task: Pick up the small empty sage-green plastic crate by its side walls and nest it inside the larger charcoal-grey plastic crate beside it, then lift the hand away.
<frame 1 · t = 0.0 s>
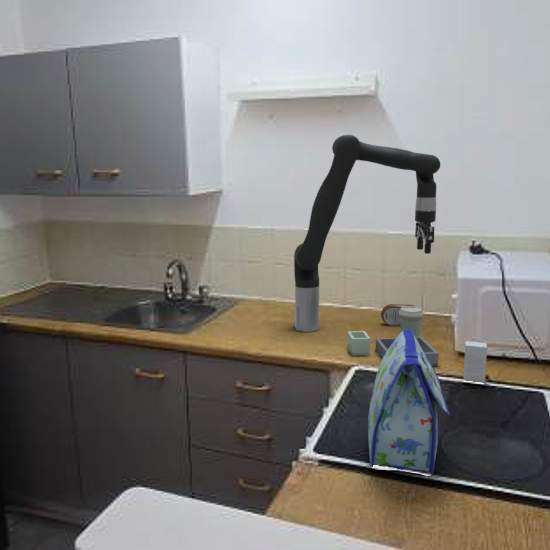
hand: (423, 251, 213), 29 cm above the worktop, tool pointing down, fingers open, 8 cm apart
coffee cup: (409, 341, 201), on the worktop
large crate: (405, 358, 184), on the worktop
tin: (400, 325, 218), on the worktop
lunch bag: (403, 450, 128), on the worktop
small crate: (358, 351, 190), on the worktop
skincare box: (473, 383, 164), on the worktop
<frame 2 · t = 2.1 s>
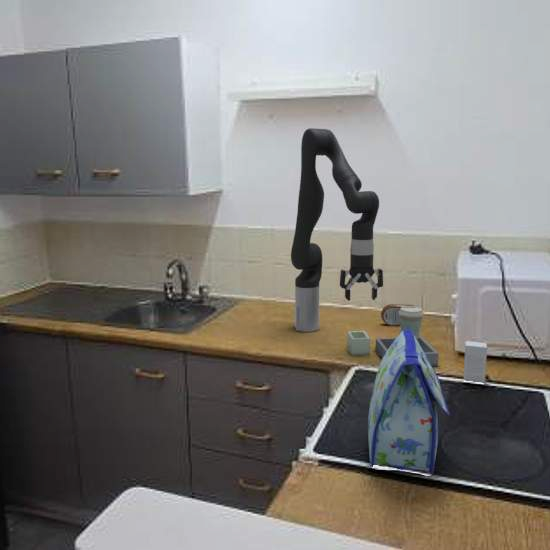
hand: (361, 299, 187), 18 cm above the worktop, tool pointing down, fingers open, 8 cm apart
nothing on the worktop moved.
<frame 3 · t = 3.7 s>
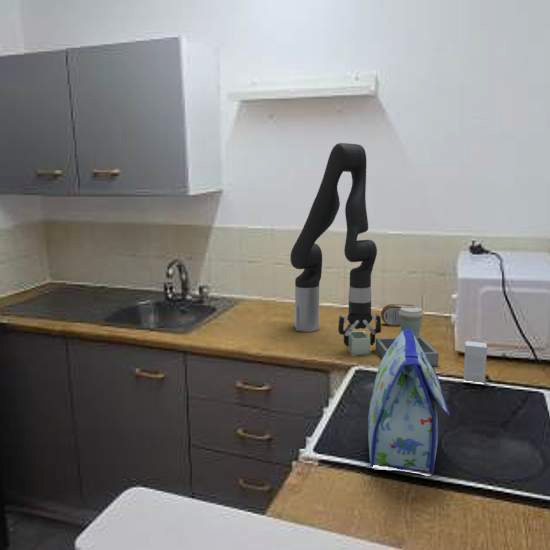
hand: (359, 345, 190), 2 cm above the worktop, tool pointing down, fingers open, 8 cm apart
large crate: (405, 358, 184), on the worktop, touching gripper
everything else where it was.
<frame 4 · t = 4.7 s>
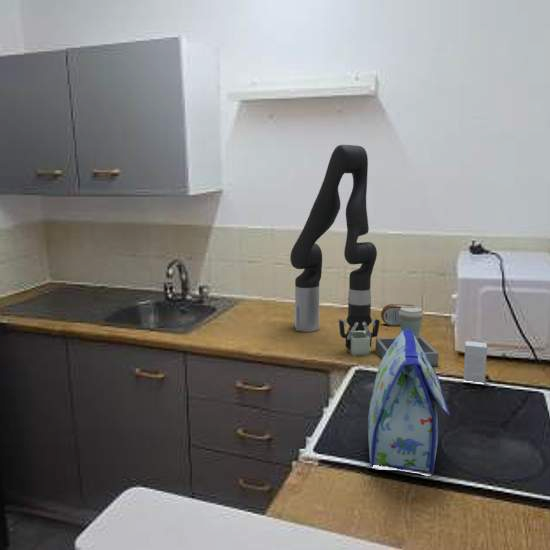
hand: (358, 348, 190), 1 cm above the worktop, tool pointing down, fingers closed on small crate, 6 cm apart
large crate: (405, 358, 184), on the worktop
small crate: (358, 351, 190), on the worktop, touching gripper
everything else where it was.
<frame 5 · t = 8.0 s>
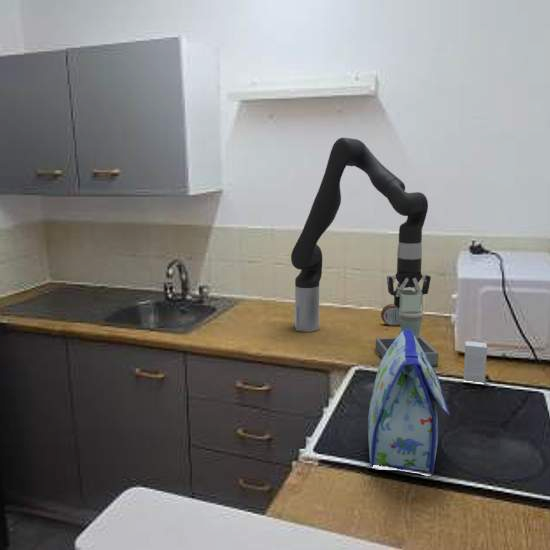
hand: (407, 306, 180), 18 cm above the worktop, tool pointing down, fingers closed on small crate, 6 cm apart
small crate: (407, 310, 180), point 17 cm above the worktop, touching gripper
everything else where it was.
when the fingers open (4 cm above the worktop, at t = 11.1 s): small crate drops 2 cm, resting on large crate.
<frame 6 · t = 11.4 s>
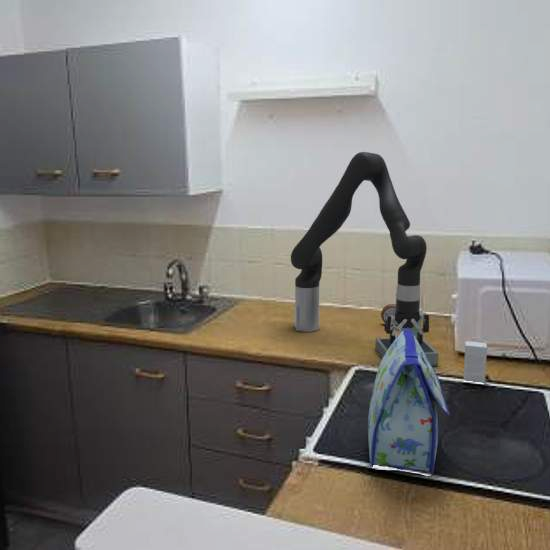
hand: (406, 344, 183), 5 cm above the worktop, tool pointing down, fingers open, 8 cm apart
large crate: (405, 358, 184), on the worktop, touching small crate
small crate: (405, 356, 183), point 1 cm above the worktop, touching large crate
everything else where it was.
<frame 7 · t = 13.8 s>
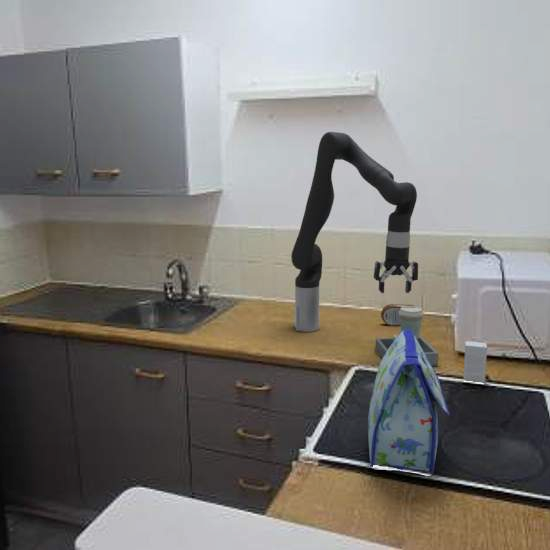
hand: (394, 292, 185), 21 cm above the worktop, tool pointing down, fingers open, 8 cm apart
nothing on the worktop moved.
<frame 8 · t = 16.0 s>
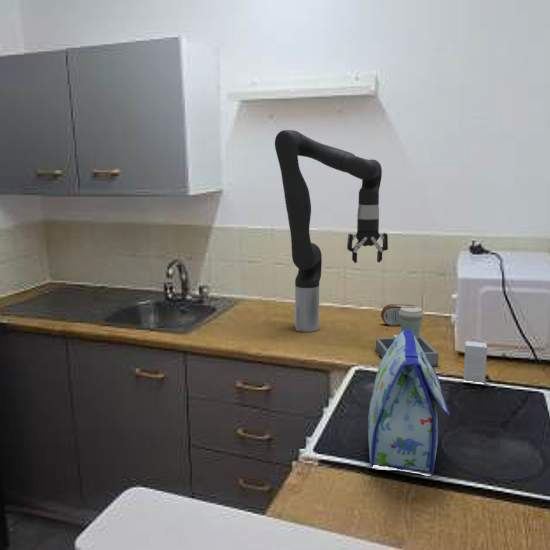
hand: (367, 262, 199), 28 cm above the worktop, tool pointing down, fingers open, 8 cm apart
nothing on the worktop moved.
at the end: small crate inside the target area on the large crate (0.1 cm from its centre), point 0.8 cm above the large crate's base; small crate tilted 0°; the gripper is holding nothing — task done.
